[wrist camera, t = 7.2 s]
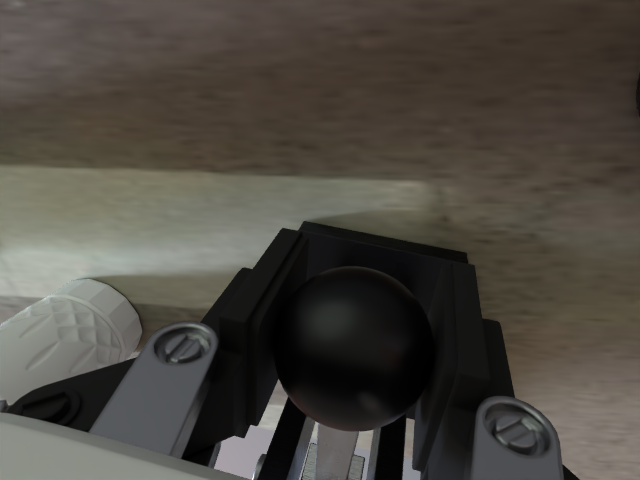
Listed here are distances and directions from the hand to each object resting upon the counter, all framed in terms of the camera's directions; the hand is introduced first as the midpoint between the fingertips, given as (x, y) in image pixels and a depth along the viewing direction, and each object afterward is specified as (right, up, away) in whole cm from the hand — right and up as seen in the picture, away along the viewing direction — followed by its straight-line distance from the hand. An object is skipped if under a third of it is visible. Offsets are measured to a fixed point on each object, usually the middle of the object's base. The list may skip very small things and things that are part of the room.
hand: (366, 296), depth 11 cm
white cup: (-17, -4, +21) cm, 27 cm away
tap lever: (0, -3, +3) cm, 4 cm away
